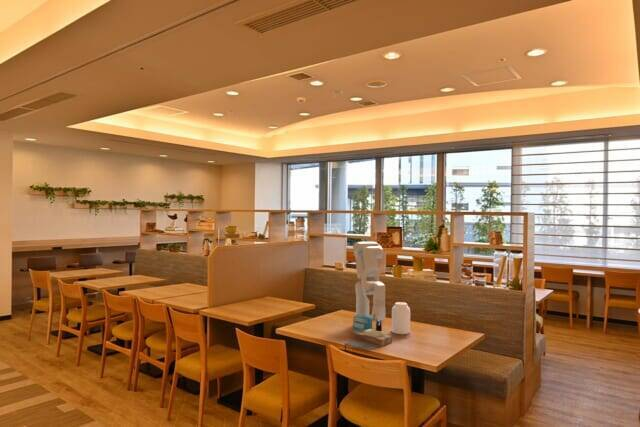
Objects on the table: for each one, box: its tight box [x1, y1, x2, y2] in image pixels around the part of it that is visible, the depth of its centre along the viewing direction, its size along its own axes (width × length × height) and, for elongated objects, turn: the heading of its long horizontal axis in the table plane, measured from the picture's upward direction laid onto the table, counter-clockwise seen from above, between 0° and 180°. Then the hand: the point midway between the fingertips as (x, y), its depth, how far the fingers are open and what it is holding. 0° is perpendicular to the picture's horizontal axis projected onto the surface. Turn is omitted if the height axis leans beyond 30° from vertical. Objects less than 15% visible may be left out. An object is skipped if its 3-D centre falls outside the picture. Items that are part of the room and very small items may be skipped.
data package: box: [352, 314, 373, 334], centre depth 291 cm, size 12×4×12 cm, turn 60°
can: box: [390, 301, 411, 335], centre depth 297 cm, size 12×12×20 cm
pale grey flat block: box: [364, 328, 382, 337], centre depth 275 cm, size 6×9×2 cm, turn 49°
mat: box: [344, 339, 381, 351], centre depth 266 cm, size 12×18×1 cm, turn 49°
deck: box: [354, 330, 393, 347], centre depth 275 cm, size 12×20×4 cm, turn 49°
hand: (378, 331), depth 280 cm, fingers closed
